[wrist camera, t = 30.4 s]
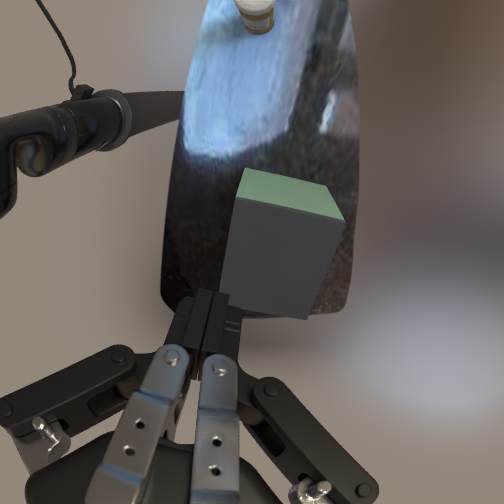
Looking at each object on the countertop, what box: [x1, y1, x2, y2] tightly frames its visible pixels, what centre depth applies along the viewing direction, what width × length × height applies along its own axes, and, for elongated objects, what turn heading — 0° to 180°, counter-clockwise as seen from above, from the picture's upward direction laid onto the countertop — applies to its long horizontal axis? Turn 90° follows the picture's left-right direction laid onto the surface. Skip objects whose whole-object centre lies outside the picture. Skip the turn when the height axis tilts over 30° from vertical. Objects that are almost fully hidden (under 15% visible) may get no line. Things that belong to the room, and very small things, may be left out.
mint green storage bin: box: [236, 168, 344, 220], centre depth 43 cm, size 16×14×13 cm
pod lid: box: [219, 196, 346, 320], centre depth 38 cm, size 16×14×1 cm
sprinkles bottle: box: [234, 0, 276, 34], centre depth 26 cm, size 5×5×14 cm
